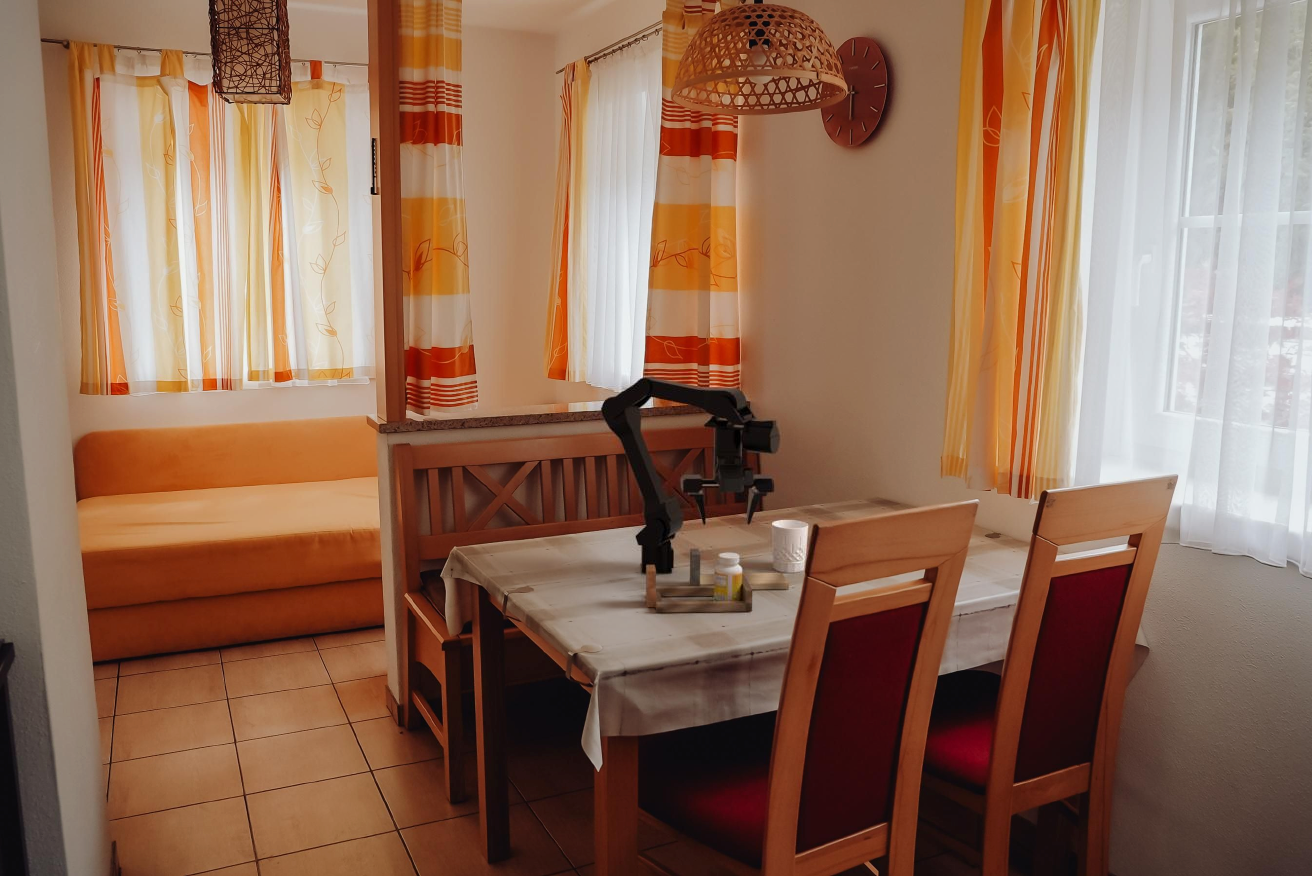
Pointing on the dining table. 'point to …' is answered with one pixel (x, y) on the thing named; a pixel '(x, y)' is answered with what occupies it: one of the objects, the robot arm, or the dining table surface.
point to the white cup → (789, 545)
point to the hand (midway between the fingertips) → (726, 524)
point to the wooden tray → (709, 606)
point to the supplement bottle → (728, 578)
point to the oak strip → (753, 579)
